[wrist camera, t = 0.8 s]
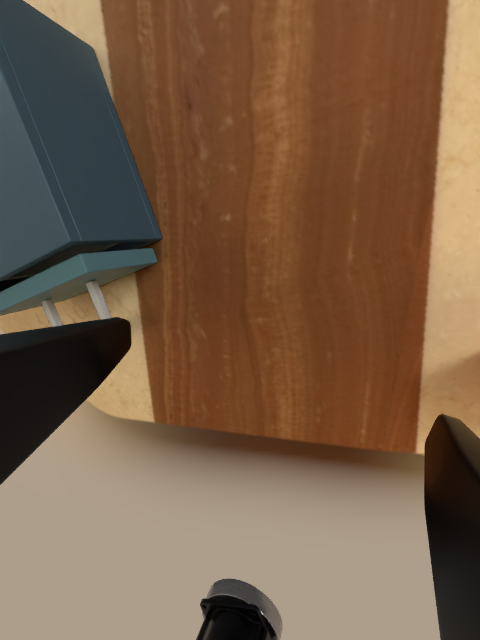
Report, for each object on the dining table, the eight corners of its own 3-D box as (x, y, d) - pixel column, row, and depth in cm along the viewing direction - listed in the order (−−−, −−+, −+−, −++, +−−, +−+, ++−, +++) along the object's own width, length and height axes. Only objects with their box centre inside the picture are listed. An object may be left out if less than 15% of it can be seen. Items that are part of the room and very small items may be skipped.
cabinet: (163, 238, 26) (70, 241, 18) (59, 284, 31) (-50, 303, 23) (93, 47, 24) (-48, -49, 16) (-5, 129, 29) (-151, 89, 21)
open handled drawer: (179, 320, 26) (118, 350, 20) (83, 349, 31) (7, 381, 24) (92, 85, 24) (-11, 29, 17) (2, 155, 28) (-108, 132, 22)
